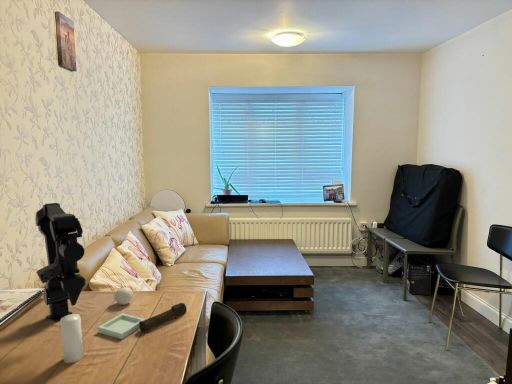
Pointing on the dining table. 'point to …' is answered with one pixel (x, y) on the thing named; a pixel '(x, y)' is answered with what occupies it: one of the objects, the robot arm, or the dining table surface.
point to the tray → (120, 326)
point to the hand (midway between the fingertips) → (70, 300)
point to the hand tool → (163, 317)
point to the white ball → (123, 295)
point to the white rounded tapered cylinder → (71, 338)
